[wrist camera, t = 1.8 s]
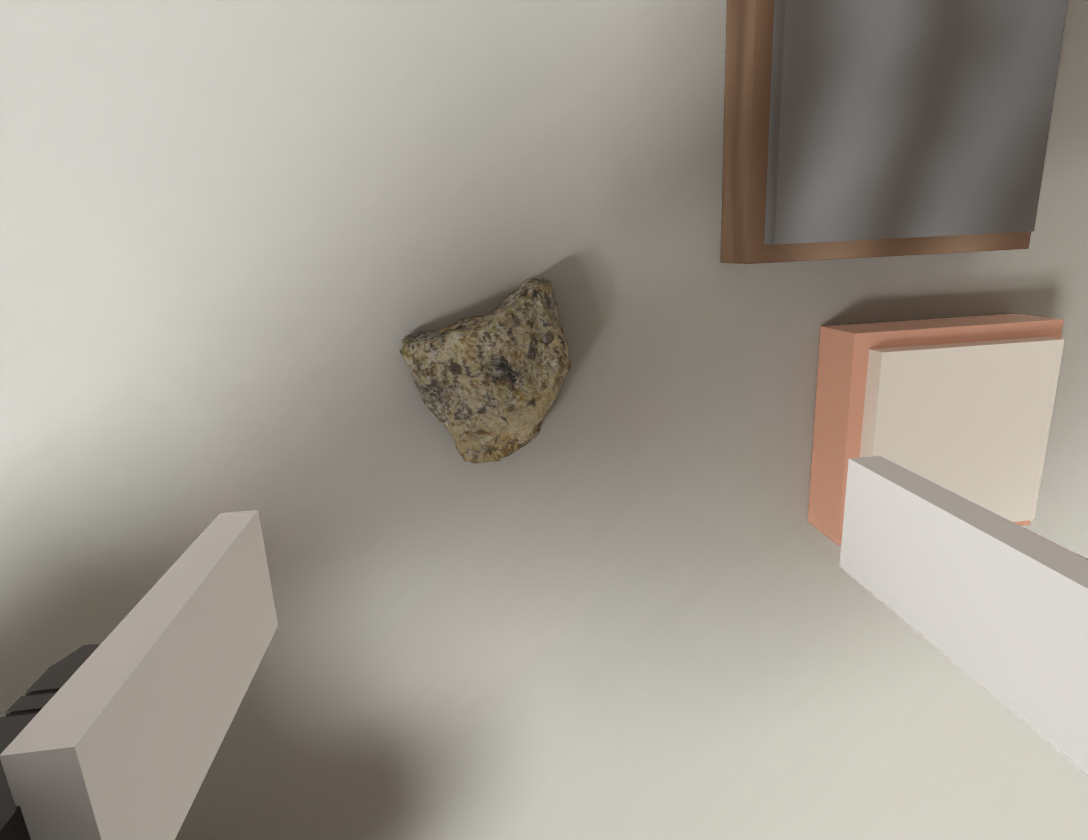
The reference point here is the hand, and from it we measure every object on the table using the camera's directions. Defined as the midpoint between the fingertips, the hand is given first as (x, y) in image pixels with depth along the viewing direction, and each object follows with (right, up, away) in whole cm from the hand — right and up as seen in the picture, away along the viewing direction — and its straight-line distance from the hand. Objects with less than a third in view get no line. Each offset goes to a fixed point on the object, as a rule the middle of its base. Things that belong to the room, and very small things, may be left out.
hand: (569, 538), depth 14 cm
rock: (-4, +6, +18) cm, 19 cm away
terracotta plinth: (+20, +3, +21) cm, 29 cm away
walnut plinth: (+15, +18, +17) cm, 28 cm away
